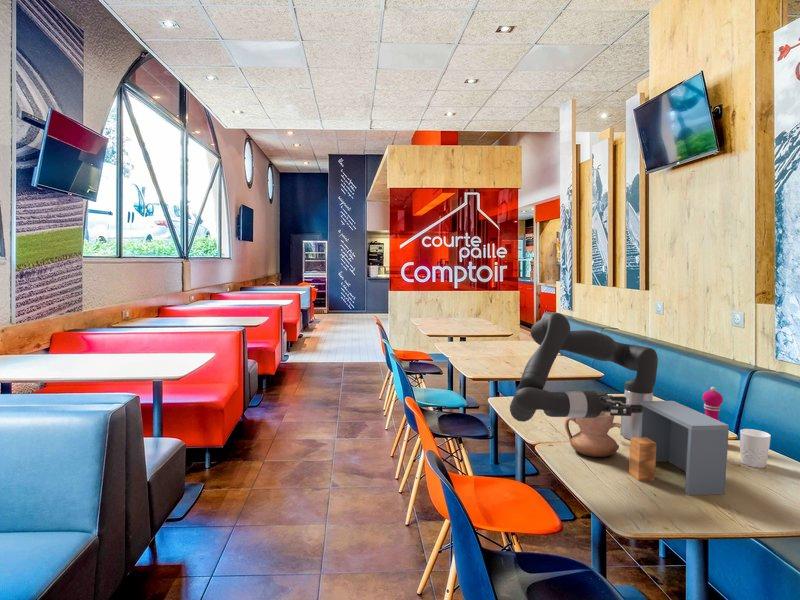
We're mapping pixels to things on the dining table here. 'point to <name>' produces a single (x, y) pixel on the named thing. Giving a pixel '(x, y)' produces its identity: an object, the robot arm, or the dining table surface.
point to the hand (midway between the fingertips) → (633, 404)
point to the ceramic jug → (593, 435)
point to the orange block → (642, 458)
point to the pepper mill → (712, 403)
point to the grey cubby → (688, 443)
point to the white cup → (754, 447)
